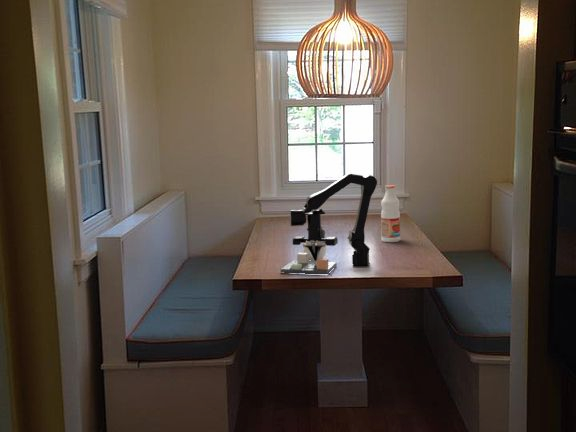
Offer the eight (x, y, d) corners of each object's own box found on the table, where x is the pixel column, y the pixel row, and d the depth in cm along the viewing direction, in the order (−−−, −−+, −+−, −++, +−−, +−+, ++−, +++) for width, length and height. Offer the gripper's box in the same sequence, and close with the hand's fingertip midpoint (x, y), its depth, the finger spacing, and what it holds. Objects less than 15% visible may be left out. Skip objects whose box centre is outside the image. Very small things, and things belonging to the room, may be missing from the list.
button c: (303, 270, 289) (303, 263, 288) (300, 273, 285) (299, 266, 284) (293, 270, 290) (293, 263, 290) (290, 272, 286) (289, 265, 286)
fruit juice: (384, 238, 351) (383, 184, 347) (402, 239, 348) (401, 184, 343) (379, 242, 343) (378, 186, 338) (397, 242, 339) (397, 186, 335)
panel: (336, 266, 295) (336, 262, 295) (326, 275, 280) (326, 270, 280) (292, 264, 302) (292, 260, 301) (280, 273, 287) (280, 268, 286)
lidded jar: (312, 256, 317) (312, 236, 316) (331, 258, 310) (331, 238, 309) (298, 260, 309) (297, 240, 308) (317, 263, 302) (316, 242, 301)
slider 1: (308, 261, 296) (307, 252, 296) (306, 263, 294) (305, 254, 293) (299, 261, 298) (299, 252, 297) (297, 263, 295) (297, 254, 294)
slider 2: (328, 267, 284) (328, 258, 284) (326, 269, 282) (326, 260, 281) (319, 267, 286) (318, 258, 285) (317, 269, 283) (316, 259, 282)
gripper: (340, 221, 296) (341, 256, 298) (299, 221, 302) (300, 255, 304) (333, 226, 285) (334, 262, 288) (291, 225, 291) (293, 261, 294)
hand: (315, 260), depth 294 cm, fingers closed
